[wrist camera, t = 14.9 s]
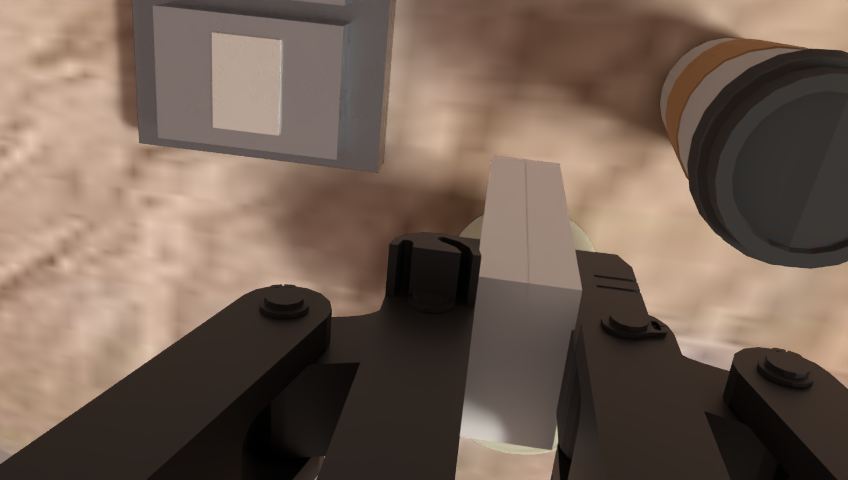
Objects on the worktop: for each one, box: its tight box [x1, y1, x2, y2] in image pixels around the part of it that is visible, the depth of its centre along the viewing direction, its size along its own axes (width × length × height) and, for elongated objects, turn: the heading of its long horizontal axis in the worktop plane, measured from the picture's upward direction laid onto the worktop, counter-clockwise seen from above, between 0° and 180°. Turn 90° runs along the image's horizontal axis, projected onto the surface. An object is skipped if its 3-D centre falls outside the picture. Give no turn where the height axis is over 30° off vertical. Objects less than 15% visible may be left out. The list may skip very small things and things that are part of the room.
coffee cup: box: [660, 38, 848, 269], centre depth 34 cm, size 8×8×15 cm
